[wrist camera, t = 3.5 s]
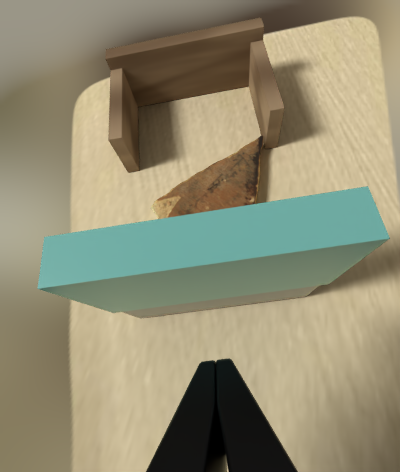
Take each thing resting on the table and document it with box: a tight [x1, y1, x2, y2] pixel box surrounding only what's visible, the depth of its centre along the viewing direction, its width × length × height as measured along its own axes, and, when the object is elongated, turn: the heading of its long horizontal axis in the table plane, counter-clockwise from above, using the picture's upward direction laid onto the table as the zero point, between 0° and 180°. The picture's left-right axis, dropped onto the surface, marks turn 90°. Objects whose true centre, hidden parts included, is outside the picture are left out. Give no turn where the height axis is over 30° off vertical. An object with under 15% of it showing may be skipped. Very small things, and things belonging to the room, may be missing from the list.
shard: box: [151, 135, 263, 219], centre depth 21 cm, size 11×8×2 cm
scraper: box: [38, 186, 390, 318], centre depth 14 cm, size 2×12×10 cm, turn 96°
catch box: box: [106, 18, 284, 172], centre depth 23 cm, size 9×13×5 cm
